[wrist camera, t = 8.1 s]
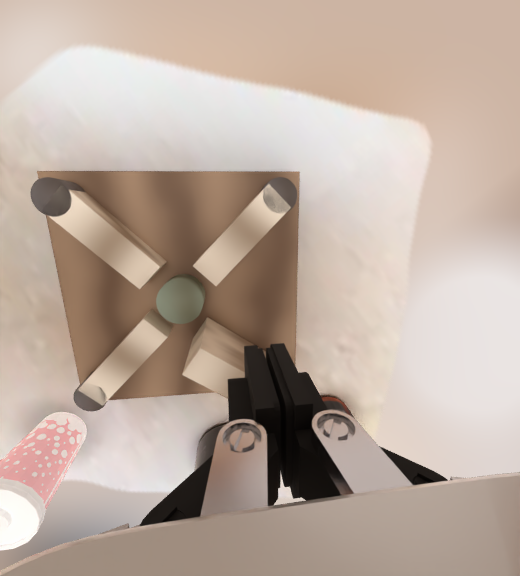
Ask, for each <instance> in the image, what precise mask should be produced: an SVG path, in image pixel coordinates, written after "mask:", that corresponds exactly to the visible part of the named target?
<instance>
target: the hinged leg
mask: <svg viewBox="0 0 520 576" xmlns="http://www.w3.org/2000/svg"><path fill="white" fill-rule="evenodd" d="M251 345H254V344H252V343H250V342H249V341H247V340H245V339H244V338H242V337H240V336H238V335H237V334H235V333H233V332H232V331H230V330H228V329H227V328H225V327H223V326H221V325H220V324H218V323H216V322H215V321H213V320H211V319H210V318H208V317H207V318H206V320H205V321H204V323H203V324H202V326H201V327H200V329H199V330H198V332H197V333H196V335H195V336H194V338H193V340H192V344H191V347H190V350H189V354H188V357H187V360H186V364H185V367H184V370H183V374H182V375H184V376H185V377H187V378H189V379H191V380H193V381H195V382H197V383H199V384H201V385H203V386H205V387H207V388H208V389H210V390H212V391H214V392H216V393H218V394H220V395H222V396H224V397H226V398H228V379H233V378H245V367H244V346H251ZM258 348H259V347H258ZM263 352H264V355H265V358H266V351H264V350H263Z"/></svg>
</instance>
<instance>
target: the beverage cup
mask: <svg viewBox="0 0 520 576" xmlns="http://www.w3.org/2000/svg"><path fill="white" fill-rule="evenodd" d="M86 435H87V428H86V424H85V423H84V422H83V421H82V419H81V418H79V417H78V416H76V415H74V414H72V413H68V412H55V413H53V414H50V415H48V416H46V417H45V418H44V419H43V420H42V421H41V422H40V423H39V424H38V425H37V426H36V427H35V428H34V429H33V430H32V431H31V432H30V433H29V434H28V435H27V436H26V437H25V438H24V439H23V440H22V441H21V442H19V443H18V444H17V445H16V446H15V447H14V448H13V449H12V450H11V451H10V452H9V453H8V454H7V455H6V456H5V457H4V458H3V459H2V460H1V461H0V550H7V549H14V548H16V547H18V546H20V545H23V544H25V543H27V542H28V541H29V540H30V539H31V538H32V537H33V536H34V535H35V534H36V533H37V531H38V530H39V527H40V524H41V523H42V522H43V520H44V516H45V511H46V509H47V507H48V505H49V503H50V501H51V499H52V498H53V496H54V494H55V492H56V491H57V489H58V487H59V485H60V483H61V482H62V480H63V478H64V476H65V474H66V473H67V471H68V469H69V467H70V465H71V464H72V462H73V460H74V458H75V456H76V455H77V453H78V451H79V449H80V447H81V446H82V444H83V442H84V440H85V438H86Z"/></svg>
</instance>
